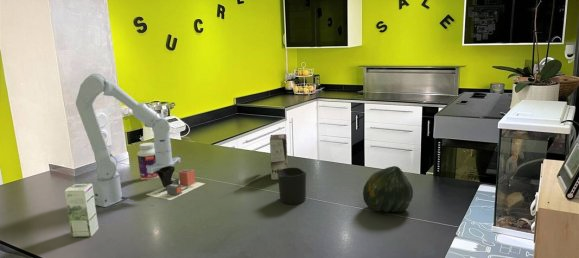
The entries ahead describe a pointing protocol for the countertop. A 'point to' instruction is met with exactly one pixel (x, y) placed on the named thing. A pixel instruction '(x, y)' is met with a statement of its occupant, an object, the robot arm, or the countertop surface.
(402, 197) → the squash
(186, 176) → the cap
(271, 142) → the coffee box
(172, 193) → the breaker
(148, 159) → the pill bottle
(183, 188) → the board
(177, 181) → the block
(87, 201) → the syrup box
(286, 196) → the pen holder
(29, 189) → the countertop surface
